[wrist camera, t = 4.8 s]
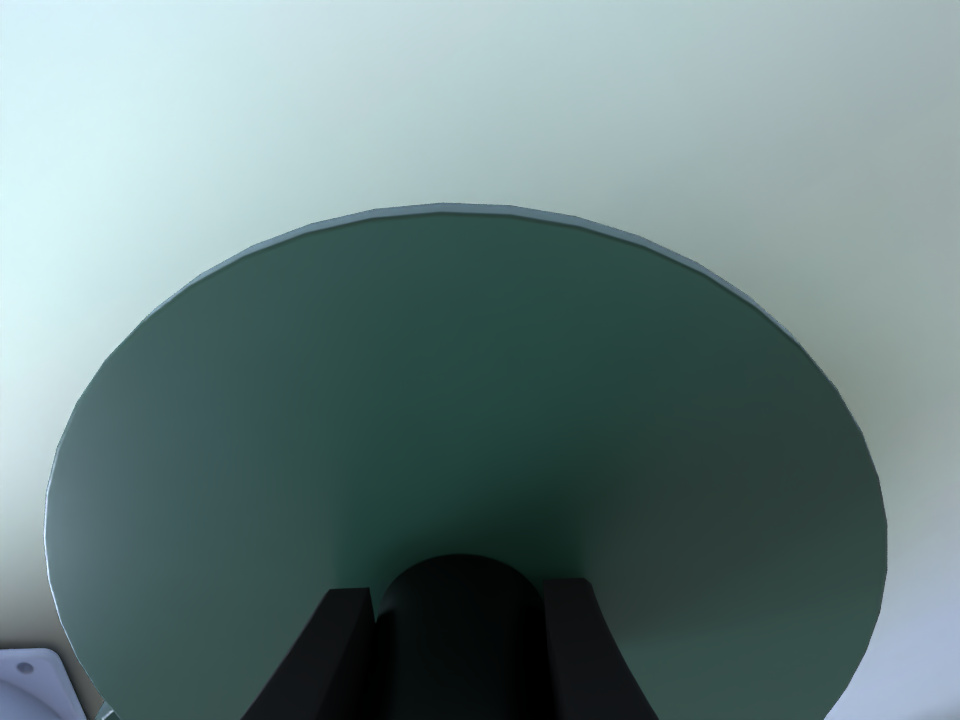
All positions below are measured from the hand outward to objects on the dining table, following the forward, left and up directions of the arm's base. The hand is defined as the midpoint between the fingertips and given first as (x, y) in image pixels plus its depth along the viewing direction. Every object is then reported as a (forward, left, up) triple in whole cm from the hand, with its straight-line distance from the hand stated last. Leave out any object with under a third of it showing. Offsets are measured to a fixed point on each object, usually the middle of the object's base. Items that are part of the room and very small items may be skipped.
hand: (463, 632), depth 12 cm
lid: (0, 0, -1) cm, 1 cm away
